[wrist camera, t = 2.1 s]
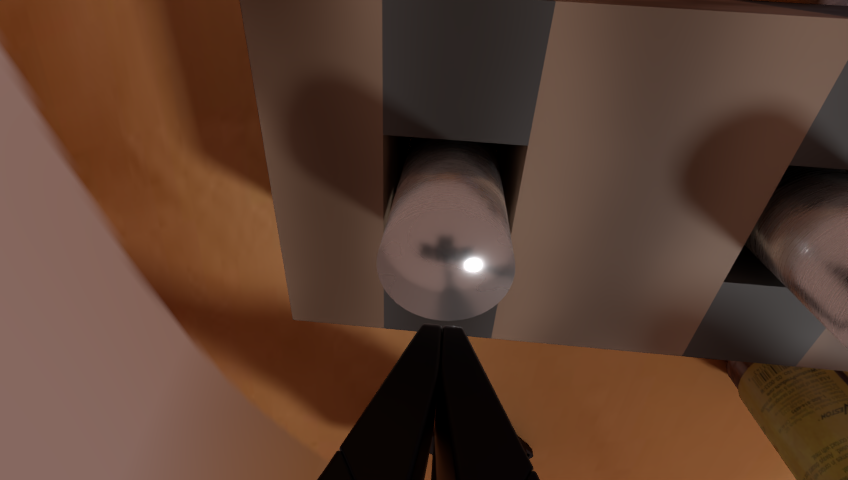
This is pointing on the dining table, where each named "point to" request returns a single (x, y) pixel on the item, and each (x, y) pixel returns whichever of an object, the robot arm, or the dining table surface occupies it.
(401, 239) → the peg
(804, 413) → the sauce bottle
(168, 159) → the dining table surface
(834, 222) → the peg
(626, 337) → the walnut block
